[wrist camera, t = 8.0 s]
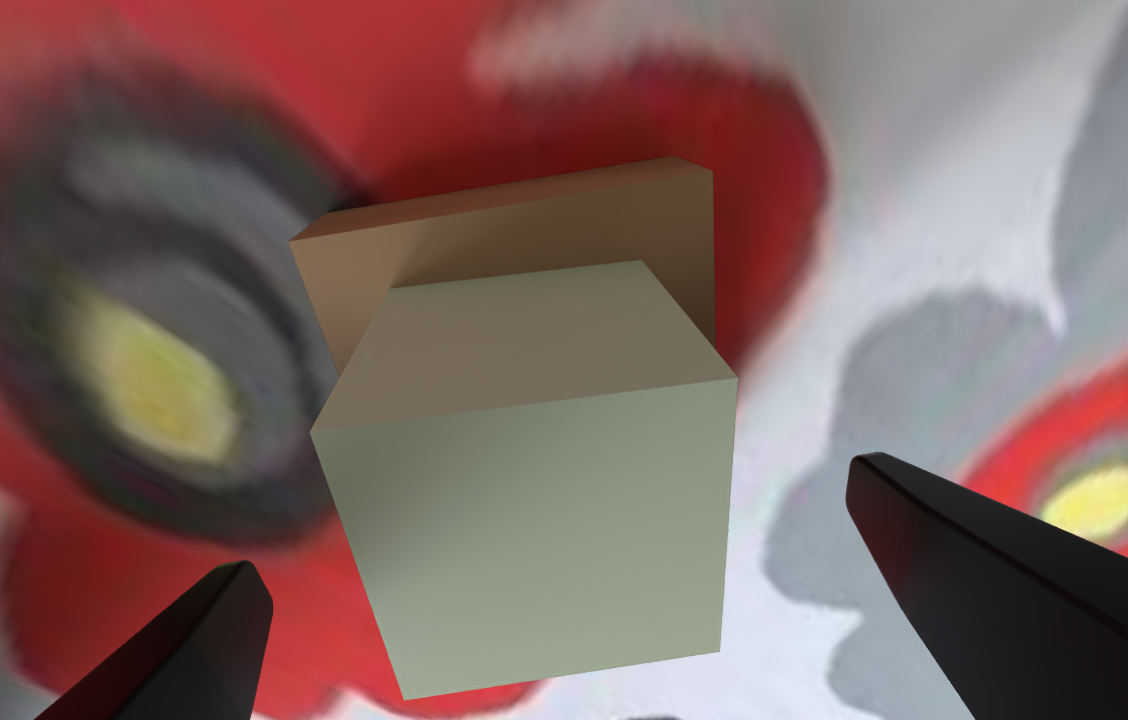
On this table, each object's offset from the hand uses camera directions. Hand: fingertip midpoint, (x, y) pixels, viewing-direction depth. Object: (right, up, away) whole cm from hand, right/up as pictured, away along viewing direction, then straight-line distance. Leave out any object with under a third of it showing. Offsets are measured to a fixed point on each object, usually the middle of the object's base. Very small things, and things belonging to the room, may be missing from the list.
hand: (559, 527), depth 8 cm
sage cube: (-1, +2, +4) cm, 4 cm away
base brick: (-1, +3, +7) cm, 7 cm away
